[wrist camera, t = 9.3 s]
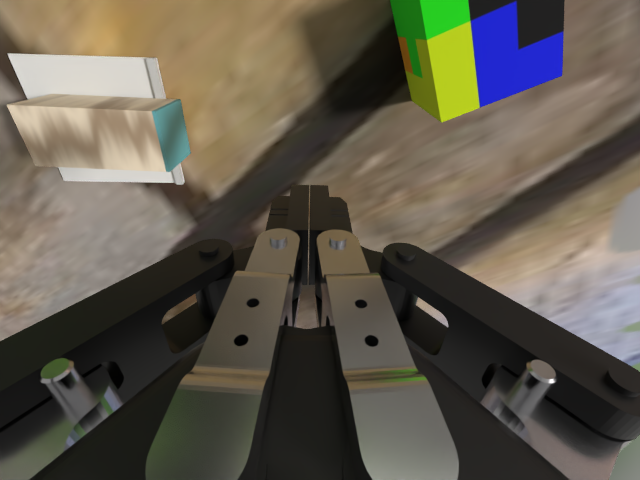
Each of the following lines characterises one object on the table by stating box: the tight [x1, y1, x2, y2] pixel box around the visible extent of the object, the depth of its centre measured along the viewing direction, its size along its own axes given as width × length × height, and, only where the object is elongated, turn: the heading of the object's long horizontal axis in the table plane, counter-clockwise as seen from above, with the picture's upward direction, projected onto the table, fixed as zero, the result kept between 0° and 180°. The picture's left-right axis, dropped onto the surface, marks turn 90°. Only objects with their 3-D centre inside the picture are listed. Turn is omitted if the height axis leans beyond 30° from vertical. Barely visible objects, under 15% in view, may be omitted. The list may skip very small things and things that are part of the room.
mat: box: [8, 53, 185, 184], centre depth 37 cm, size 14×15×1 cm
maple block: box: [7, 94, 191, 172], centre depth 34 cm, size 6×6×14 cm
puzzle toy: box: [390, 0, 564, 122], centre depth 29 cm, size 10×10×10 cm
